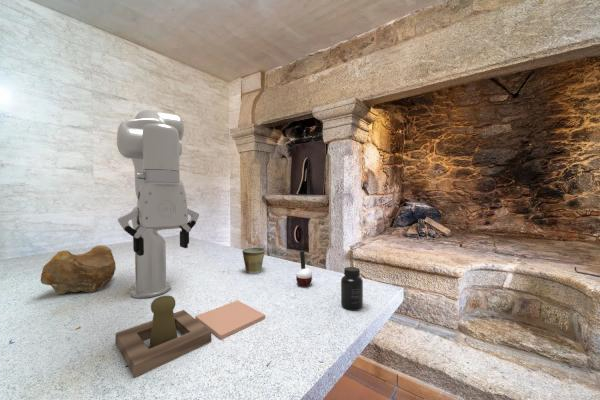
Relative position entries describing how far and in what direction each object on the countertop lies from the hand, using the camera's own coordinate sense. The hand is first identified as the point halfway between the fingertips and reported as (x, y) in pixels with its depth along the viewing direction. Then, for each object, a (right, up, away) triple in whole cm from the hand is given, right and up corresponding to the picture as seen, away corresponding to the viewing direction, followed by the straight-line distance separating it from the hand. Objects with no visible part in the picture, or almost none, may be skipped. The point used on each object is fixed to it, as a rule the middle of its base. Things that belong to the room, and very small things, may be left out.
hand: (163, 250), depth 59 cm
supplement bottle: (+49, -22, +21) cm, 58 cm away
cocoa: (+34, -21, +38) cm, 56 cm away
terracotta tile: (+13, -22, +12) cm, 28 cm away
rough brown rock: (-46, -21, +34) cm, 61 cm away
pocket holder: (0, -22, +1) cm, 22 cm away
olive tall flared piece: (0, -23, +1) cm, 23 cm away
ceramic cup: (+12, -21, +55) cm, 60 cm away
